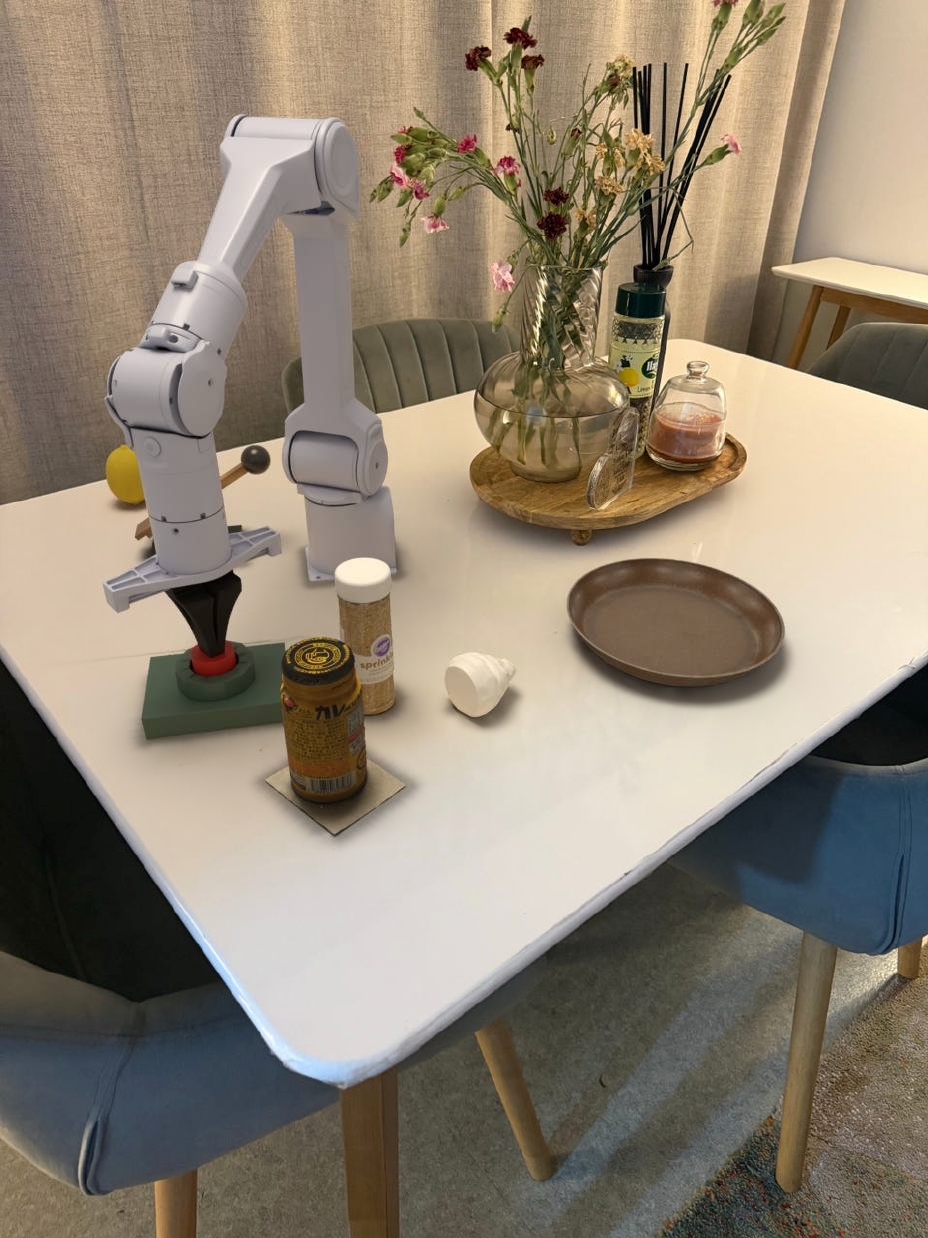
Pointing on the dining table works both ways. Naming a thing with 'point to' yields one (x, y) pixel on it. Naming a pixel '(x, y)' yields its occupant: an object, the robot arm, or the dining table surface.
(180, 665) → the button box
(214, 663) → the button
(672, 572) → the plant saucer
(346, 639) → the sprinkles bottle
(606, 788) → the dining table surface
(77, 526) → the dining table surface
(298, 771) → the condiment
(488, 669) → the white meringue
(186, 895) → the dining table surface
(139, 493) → the lemon
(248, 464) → the lever
